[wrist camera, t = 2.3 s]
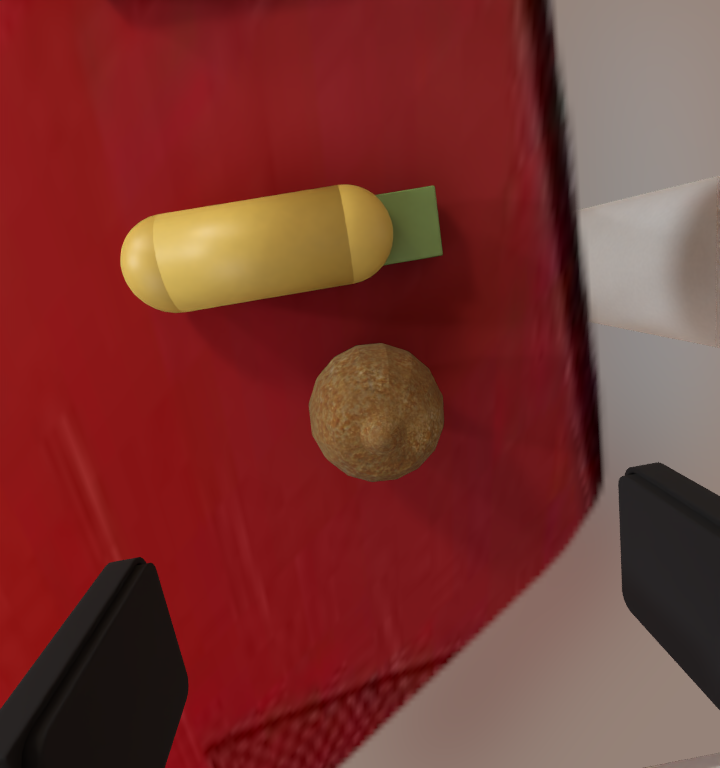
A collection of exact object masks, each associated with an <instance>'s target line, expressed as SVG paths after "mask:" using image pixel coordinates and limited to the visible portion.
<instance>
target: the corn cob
mask: <svg viewBox="0 0 720 768" xmlns="http://www.w3.org/2000/svg"><path fill="white" fill-rule="evenodd" d="M442 255H443V251H442V243H441V234H440V226H439V218H438V209H437V201H436V192H435V186H427V187H421V188H415V189H409V190H403V191H397V192H391V193H385V194H379V195H374V194H372V193H371V192H369V191H368V190H366V189H364V188H361V187H358V186H354V185H348V184H347V185H335V186H329V187H322V188H316V189H310V190H304V191H298V192H292V193H286V194H280V195H274V196H268V197H262V198H256V199H249V200H243V201H237V202H231V203H225V204H219V205H213V206H207V207H201V208H195V209H189V210H182V211H176V212H170V213H164V214H158V215H155V216H151V217H148V218H146V219H145V220H143V221H141V222H139V223H138V224H137V225H136V226H135V227H134V228H132V229H131V231H130V232H129V234H128V235H127V237H126V238H125V240H124V243H123V246H122V249H121V269H122V273H123V276H124V279H125V281H126V283H127V284H128V286H129V287H130V289H131V290H132V292H133V293H134V294H135V295H136V296H137V297H138V298H139V299H141V300H142V301H143V302H144V303H146V304H148V305H149V306H151V307H153V308H155V309H158V310H161V311H165V312H173V313H179V312H189V311H195V310H201V309H207V308H213V307H219V306H224V305H230V304H236V303H242V302H248V301H254V300H260V299H266V298H272V297H278V296H284V295H290V294H295V293H301V292H307V291H313V290H319V289H325V288H331V287H337V286H343V285H349V284H354V283H358V282H362V281H364V280H366V279H368V278H370V277H371V276H373V275H374V274H375V273H376V272H378V271H379V269H380V268H381V267H382V266H383V265H389V264H395V263H400V262H406V261H412V260H418V259H424V258H430V257H436V256H442Z"/></svg>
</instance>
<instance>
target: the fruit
mask: <svg viewBox="0 0 720 768" xmlns="http://www.w3.org/2000/svg"><path fill="white" fill-rule="evenodd" d="M309 411H310V420H311V429H312V435H313V437H314V439H315V440H316V442H317V444H318V445H319V447H320V449H321V451H322V452H323V454H324V456H325V457H326V458H327V459H328V460H329V461H330V462H331V463H332V464H334V465H335V466H336V467H338V468H339V469H340V470H342V471H343V472H344V473H346V474H347V475H348V476H352V477H356V478H359V479H363V480H367V481H371V482H375V481H385V480H394V479H398V478H400V477H402V476H404V475H406V474H408V473H410V472H412V471H414V470H416V469H418V468H419V467H420V466H421V465H422V464H423V463H424V461H425V460H426V459H427V458H428V457H429V456H430V455H431V454H432V453H433V451H434V450H435V448H436V446H437V443H438V440H439V437H440V435H441V432H442V429H443V425H444V411H443V396H442V394H441V392H440V390H439V388H438V386H437V384H436V382H435V380H434V378H433V376H432V374H431V372H430V370H429V368H428V367H426V366H425V365H424V364H423V363H422V362H420V361H419V360H418V359H417V358H416V357H415V356H413V355H412V354H411V353H410V352H408V351H406V350H403V349H399V348H396V347H393V346H390V345H386V344H383V343H377V344H366V345H356V346H354V347H353V348H351V349H349V350H347V351H345V352H343V353H341V354H339V355H337V356H335V357H334V358H333V359H332V360H331V362H330V363H329V364H328V365H327V366H326V368H325V369H324V370H323V371H322V372H321V374H320V375H319V376H318V377H317V379H316V382H315V385H314V388H313V392H312V395H311V398H310V402H309Z"/></svg>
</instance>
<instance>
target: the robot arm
mask: <svg viewBox="0 0 720 768" xmlns="http://www.w3.org/2000/svg"><path fill="white" fill-rule="evenodd" d="M618 486H619V511H620V540H621V569H622V592H623V596H624V600H625V603H626V605H627V607H628V608H629V610H630V611H631V613H632V614H633V615H634V616H635V617H636V618H637V619H638V620H639V621H640V623H641V624H642V625H643V626H644V627H645V628H646V629H647V630H648V631H649V633H650V634H651V635H652V636H653V637H654V638H655V639H656V640H657V641H658V642H659V644H660V645H661V646H662V647H663V648H664V649H665V650H666V651H667V652H668V654H669V655H670V656H671V657H672V658H673V659H674V660H675V661H676V662H677V663H678V665H679V666H680V667H681V668H682V669H683V670H684V671H685V672H686V673H687V674H688V676H689V677H690V678H691V679H692V680H693V681H694V682H695V683H696V684H697V686H698V687H699V688H700V689H701V690H702V691H703V692H704V693H705V694H706V695H707V697H708V698H709V699H710V700H711V701H712V702H713V703H714V704H715V706H716V707H717V708H718V709H719V710H720V496H718V495H717V494H715V493H713V492H711V491H710V490H708V489H706V488H704V487H703V486H701V485H699V484H697V483H695V482H694V481H692V480H690V479H688V478H687V477H685V476H683V475H681V474H680V473H678V472H676V471H674V470H673V469H671V468H669V467H667V466H666V465H664V464H661V463H659V462H658V463H652V464H647V465H641V466H636V467H630V468H628V469H627V470H626V473H625V476H622V477H621V478H620V480H619V485H618ZM187 695H188V676H187V672H186V669H185V666H184V662H183V659H182V655H181V652H180V649H179V645H178V642H177V638H176V635H175V632H174V628H173V625H172V621H171V618H170V615H169V611H168V608H167V604H166V601H165V598H164V594H163V591H162V587H161V584H160V581H159V577H158V574H157V570H156V568H155V566H154V565H153V564H152V563H147V564H146V562H145V561H144V559H143V558H141V557H138V558H133V559H127V560H122V561H116V562H111V563H109V564H108V565H106V567H105V568H104V569H103V571H102V572H101V573H100V575H99V576H98V577H97V579H96V580H95V582H94V583H93V584H92V586H91V587H90V588H89V590H88V591H87V592H86V594H85V595H84V596H83V598H82V599H81V601H80V602H79V603H78V605H77V606H76V607H75V609H74V610H73V611H72V613H71V614H70V615H69V617H68V618H67V620H66V621H65V622H64V624H63V625H62V626H61V628H60V629H59V630H58V632H57V633H56V634H55V636H54V637H53V639H52V640H51V641H50V643H49V644H48V645H47V647H46V648H45V649H44V651H43V652H42V653H41V655H40V656H39V658H38V659H37V660H36V662H35V663H34V664H33V666H32V667H31V668H30V670H29V671H28V672H27V674H26V675H25V677H24V678H23V679H22V681H21V682H20V683H19V685H18V686H17V687H16V689H15V690H14V691H13V693H12V694H11V696H10V697H9V698H8V700H7V701H6V702H5V704H4V705H3V706H2V708H1V709H0V768H165V765H166V762H167V759H168V756H169V752H170V749H171V746H172V743H173V740H174V737H175V734H176V731H177V727H178V724H179V721H180V718H181V715H182V712H183V709H184V705H185V702H186V699H187ZM645 768H720V753H716V754H711V755H706V756H701V757H696V758H691V759H686V760H681V761H675V762H670V763H666V764H660V765H656V766H651V767H645Z"/></svg>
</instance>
